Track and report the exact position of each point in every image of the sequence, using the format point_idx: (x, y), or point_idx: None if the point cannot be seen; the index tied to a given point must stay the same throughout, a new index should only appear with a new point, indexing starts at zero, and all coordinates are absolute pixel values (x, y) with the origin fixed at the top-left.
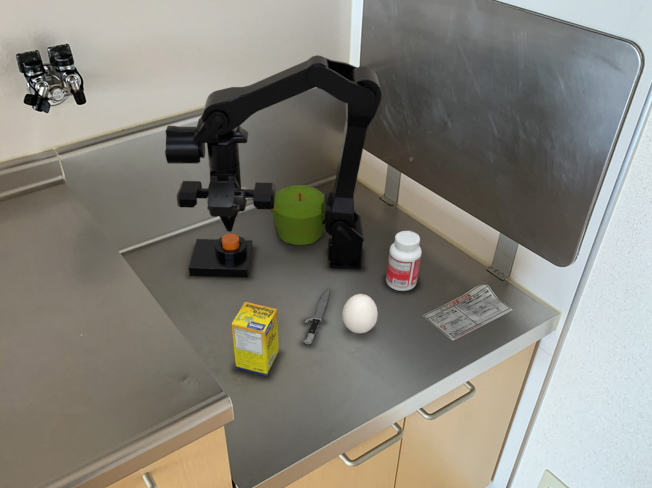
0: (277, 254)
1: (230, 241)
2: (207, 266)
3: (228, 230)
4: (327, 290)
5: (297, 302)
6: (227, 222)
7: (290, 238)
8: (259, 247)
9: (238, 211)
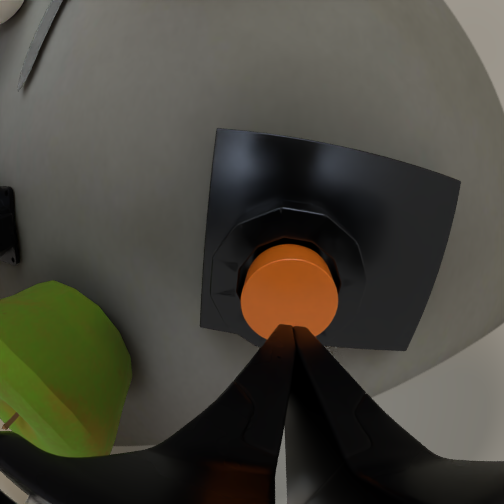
0: (126, 264)
1: (291, 280)
2: (398, 173)
3: (300, 330)
4: (20, 87)
5: (87, 33)
6: (309, 374)
7: (70, 302)
8: (186, 310)
9: (78, 467)
